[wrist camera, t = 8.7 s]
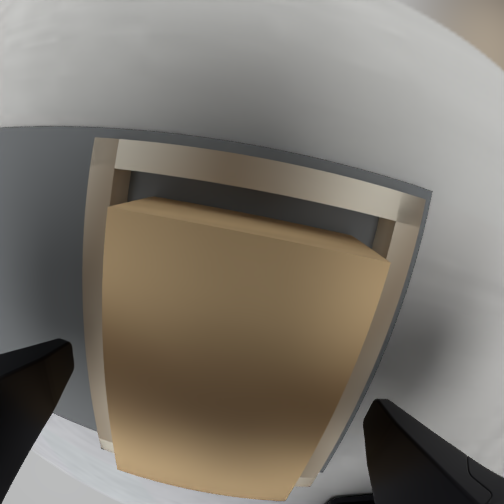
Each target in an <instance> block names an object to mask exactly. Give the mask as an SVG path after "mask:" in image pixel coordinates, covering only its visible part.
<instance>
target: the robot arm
mask: <svg viewBox="0 0 504 504" xmlns="http://www.w3.org/2000/svg"><path fill="white" fill-rule="evenodd" d="M73 371H74V356H73V347H72V344H71V343H70V342H69V341H67V340H64V339H61V338H57V339H54V340H50V341H47V342H43V343H40V344H36V345H32V346H29V347H25V348H21V349H18V350H14V351H10V352H6V353H2V354H0V504H2V501H3V499H4V498H5V495H6V494H7V492H8V490H9V488H10V485H11V484H12V482H13V480H14V478H15V476H16V475H17V473H18V471H19V469H20V467H21V465H22V464H23V462H24V460H25V458H26V456H27V455H28V453H29V451H30V450H31V448H32V446H33V444H34V443H35V441H36V439H37V438H38V436H39V434H40V433H41V431H42V429H43V428H44V426H45V424H46V423H47V421H48V419H49V418H50V416H51V414H52V413H53V411H54V409H55V408H56V406H57V404H58V402H59V400H60V398H61V395H62V393H63V391H64V389H65V387H66V385H67V383H68V381H69V379H70V377H71V375H72V373H73ZM363 429H364V438H365V447H366V458H367V466H368V471H369V476H370V481H371V486H372V491H373V495H367V496H356V497H341V498H335V499H332V500H330V501H329V502H328V503H327V504H504V478H503V477H501V476H499V475H498V474H496V473H494V472H492V471H490V470H489V469H487V468H485V467H484V466H482V465H481V464H479V463H478V462H476V461H475V460H473V459H472V458H470V457H469V456H467V455H466V454H464V453H463V452H461V451H460V450H458V449H457V448H456V447H454V446H453V445H451V444H450V443H448V442H447V441H445V440H444V439H443V438H441V437H440V436H438V435H437V434H436V433H434V432H433V431H431V430H430V429H428V428H427V427H426V426H424V425H423V424H421V423H420V422H419V421H417V420H416V419H415V418H413V417H412V416H410V415H409V414H408V413H406V412H405V411H404V410H402V409H401V408H399V407H398V406H397V405H395V404H394V403H393V402H391V401H390V400H388V399H375V400H374V401H373V403H372V405H371V407H370V408H369V410H368V412H367V414H366V416H365V418H364V422H363Z"/></svg>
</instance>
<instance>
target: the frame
mask: <svg viewBox="0 0 504 504" xmlns="http://www.w3.org/2000/svg"><path fill="white" fill-rule="evenodd" d="M131 170H132V171H140V172H148V173H155V174H162V175H169V176H176V177H183V178H189V179H196V180H202V181H208V182H214V183H220V184H226V185H232V186H237V187H243V188H248V189H254V190H259V191H264V192H270V193H275V194H280V195H285V196H290V197H294V198H299V199H304V200H309V201H313V202H318V203H323V204H327V205H331V206H336V207H340V208H345V209H349V210H353V211H357V212H361V213H366V214H370V215H374V216H378V217H379V221H378V225H377V230H376V234H375V238H374V242H373V246H372V250H374V251H375V252H376V253H378V254H379V255H381V256H382V257H384V258H385V259H386V260H388V261H389V262H391V264H390V267H389V271H388V274H387V277H386V281H385V284H384V287H383V290H382V293H381V296H380V299H379V302H378V305H377V308H376V311H375V314H374V317H373V320H372V322H371V325H370V328H369V331H368V333H367V336H366V339H365V341H364V344H363V347H362V349H361V352H360V354H359V357H358V359H357V362H356V364H355V366H354V369H353V371H352V374H351V376H350V378H349V381H348V383H347V385H346V387H345V390H344V392H343V394H342V396H341V399H340V401H339V403H338V405H337V407H336V409H335V411H334V413H333V416H332V418H331V420H330V422H329V424H328V426H327V428H326V430H325V432H324V434H323V436H322V438H321V439H320V441H319V443H318V445H317V447H316V449H315V451H314V453H313V454H312V456H311V458H310V460H309V462H308V463H307V465H306V467H305V469H304V471H303V472H302V474H301V476H300V477H299V479H298V481H297V482H296V484H295V486H294V487H310V486H311V484H312V483H313V481H314V480H315V478H316V477H317V475H318V473H319V472H320V470H321V468H322V467H323V465H324V463H325V462H326V460H327V458H328V457H329V455H330V453H331V451H332V450H333V448H334V446H335V444H336V443H337V441H338V439H339V437H340V435H341V433H342V431H343V430H344V428H345V426H346V424H347V422H348V420H349V418H350V416H351V414H352V412H353V410H354V408H355V406H356V404H357V402H358V400H359V398H360V396H361V394H362V391H363V389H364V387H365V385H366V383H367V380H368V378H369V376H370V374H371V371H372V369H373V367H374V364H375V362H376V360H377V357H378V355H379V352H380V350H381V347H382V345H383V342H384V340H385V337H386V335H387V332H388V329H389V327H390V324H391V321H392V318H393V316H394V313H395V310H396V307H397V304H398V301H399V298H400V295H401V292H402V289H403V286H404V282H405V279H406V276H407V273H408V269H409V266H410V262H411V259H412V255H413V252H414V248H415V244H416V240H417V236H418V232H419V228H420V224H421V220H422V215H423V211H424V206H425V201H426V199H423V198H420V197H416V196H413V195H410V194H407V193H403V192H400V191H397V190H393V189H390V188H386V187H383V186H379V185H376V184H372V183H368V182H365V181H361V180H357V179H353V178H349V177H346V176H342V175H338V174H333V173H329V172H325V171H321V170H316V169H312V168H308V167H303V166H298V165H294V164H289V163H284V162H279V161H274V160H269V159H264V158H259V157H253V156H248V155H242V154H236V153H230V152H224V151H217V150H211V149H204V148H197V147H190V146H182V145H174V144H166V143H157V142H147V141H137V140H126V139H113V138H99V137H95V139H94V145H93V151H92V157H91V164H90V171H89V179H88V187H87V197H86V207H85V220H84V236H83V266H82V290H83V320H84V336H85V348H86V359H87V368H88V376H89V384H90V391H91V398H92V404H93V410H94V416H95V421H96V426H97V431H98V436H99V441H100V445H101V449H104V450H107V451H109V452H112V453H114V448H113V442H112V435H111V429H110V421H109V414H108V405H107V396H106V386H105V374H104V359H103V337H102V278H103V256H104V241H105V228H106V218H107V208H108V207H109V206H114V205H118V204H122V203H126V202H127V198H128V190H129V183H130V176H131Z"/></svg>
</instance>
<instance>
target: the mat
mask: <svg viewBox="0 0 504 504" xmlns="http://www.w3.org/2000/svg"><path fill="white" fill-rule="evenodd" d="M95 137H99V138H113V139H126V140H137V141H147V142H157V143H166V144H174V145H182V146H190V147H197V148H204V149H211V150H217V151H224V152H230V153H236V154H242V155H248V156H253V157H259V158H264V159H269V160H274V161H279V162H284V163H289V164H294V165H298V166H303V167H308V168H312V169H316V170H321V171H325V172H329V173H333V174H338V175H342V176H346V177H349V178H353V179H357V180H361V181H365V182H368V183H372V184H376V185H379V186H383V187H386V188H390V189H393V190H397V191H400V192H403V193H407V194H410V195H413V196H416V197H420V198H423V199H426V201H425V206H424V211H423V215H422V220H421V224H420V228H419V232H418V236H417V240H416V244H415V248H414V252H413V255H412V259H411V262H410V266H409V269H408V273H407V276H406V279H405V282H404V286H403V289H402V292H401V295H400V298H399V301H398V304H397V307H396V310H395V313H394V316H393V318H392V321H391V324H390V327H389V329H388V332H387V335H386V337H385V340H384V342H383V345H382V347H381V350H380V352H379V355H378V357H377V360H376V362H375V364H374V367H373V369H372V371H371V374H370V376H369V378H368V380H367V383H366V385H365V387H364V389H363V391H362V394H361V396H360V398H359V400H358V402H357V404H356V406H355V408H354V410H353V412H352V414H351V416H350V418H349V420H348V422H347V424H346V426H345V428H344V430H343V431H342V433H341V435H340V437H339V439H338V441H337V443H336V444H335V446H334V448H333V450H332V451H331V453H330V455H329V457H328V458H327V460H326V462H325V463H324V465H323V467H322V468H321V470H320V472H323V471H324V470H325V468H326V466H327V465H328V463H329V461H330V460H331V458H332V456H333V455H334V453H335V451H336V449H337V448H338V446H339V444H340V442H341V441H342V439H343V437H344V435H345V433H346V432H347V430H348V428H349V426H350V424H351V422H352V420H353V418H354V416H355V414H356V412H357V411H358V409H359V407H360V404H361V402H362V400H363V398H364V396H365V394H366V392H367V390H368V388H369V386H370V383H371V381H372V379H373V377H374V375H375V372H376V370H377V368H378V365H379V363H380V361H381V358H382V356H383V354H384V351H385V349H386V346H387V344H388V341H389V339H390V336H391V334H392V331H393V328H394V326H395V323H396V320H397V317H398V315H399V312H400V309H401V306H402V303H403V300H404V297H405V294H406V291H407V288H408V285H409V282H410V278H411V275H412V272H413V268H414V265H415V262H416V258H417V254H418V251H419V247H420V243H421V239H422V235H423V231H424V227H425V223H426V219H427V214H428V210H429V205H430V200H431V195H432V191H430V190H427V189H425V188H421V187H418V186H415V185H412V184H409V183H406V182H403V181H400V180H396V179H393V178H390V177H386V176H383V175H380V174H376V173H373V172H369V171H365V170H362V169H358V168H354V167H351V166H347V165H343V164H339V163H335V162H331V161H327V160H323V159H318V158H314V157H310V156H305V155H301V154H296V153H291V152H287V151H282V150H277V149H272V148H267V147H261V146H256V145H250V144H244V143H239V142H232V141H226V140H220V139H213V138H206V137H199V136H191V135H183V134H174V133H165V132H155V131H145V130H132V129H118V128H100V127H70V126H35V127H6V128H0V354H2V353H6V352H10V351H14V350H18V349H21V348H25V347H29V346H32V345H36V344H40V343H43V342H47V341H50V340H54V339H57V338H61V339H64V340H67V341H69V342H70V343H71V344H72V347H73V356H74V371H73V373H72V375H71V377H70V379H69V381H68V383H67V385H66V387H65V389H64V391H63V393H62V395H61V398H60V400H59V402H58V404H57V406H56V408H55V409H54V411H53V413H54V414H56V415H58V416H60V417H63V418H65V419H67V420H70V421H72V422H74V423H77V424H79V425H82V426H84V427H87V428H89V429H92V430H94V431H97V426H96V421H95V416H94V410H93V404H92V398H91V391H90V384H89V376H88V368H87V359H86V348H85V336H84V320H83V290H82V266H83V236H84V220H85V207H86V197H87V187H88V179H89V171H90V164H91V157H92V151H93V145H94V139H95ZM153 196H154V197H160V198H166V199H172V200H177V201H183V202H189V203H194V204H200V205H205V206H211V207H216V208H221V209H227V210H232V211H237V212H242V213H248V214H253V215H258V216H263V217H268V218H273V219H277V220H282V221H287V222H292V223H297V224H301V225H306V226H311V227H315V228H320V229H325V230H329V231H334V232H338V233H343V234H347V235H352V236H353V237H355V238H356V239H358V240H359V241H360V242H362V243H363V244H365V245H366V246H368V247H369V248H371V249H372V246H373V242H374V238H375V234H376V230H377V225H378V221H379V217H378V216H374V215H370V214H366V213H361V212H357V211H353V210H349V209H345V208H340V207H336V206H331V205H327V204H323V203H318V202H313V201H309V200H304V199H299V198H294V197H290V196H285V195H280V194H275V193H270V192H264V191H259V190H254V189H248V188H243V187H237V186H232V185H226V184H220V183H214V182H208V181H202V180H196V179H189V178H183V177H176V176H169V175H162V174H155V173H148V172H140V171H132V170H131V176H130V183H129V190H128V198H127V202H131V201H135V200H139V199H144V198H148V197H153ZM97 432H98V431H97Z"/></svg>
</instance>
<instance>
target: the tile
mask: <svg viewBox="0 0 504 504" xmlns="http://www.w3.org/2000/svg"><path fill="white" fill-rule="evenodd" d="M390 264H391V262H389V261H388V260H386V259H385V258H384V257H382V256H381V255H379V254H378V253H376V252H375V251H374V250H372V249H371V248H369V247H368V246H366V245H365V244H363V243H362V242H360V241H359V240H358V239H356V238H355V237H353V236H352V235H347V234H343V233H338V232H334V231H329V230H325V229H320V228H315V227H311V226H306V225H301V224H297V223H292V222H287V221H282V220H277V219H273V218H268V217H263V216H258V215H253V214H248V213H242V212H237V211H232V210H227V209H221V208H216V207H211V206H205V205H200V204H194V203H189V202H183V201H177V200H172V199H166V198H160V197H154V196H153V197H148V198H144V199H139V200H135V201H131V202H126V203H122V204H118V205H114V206H109V207H108V208H107V218H106V228H105V241H104V256H103V278H102V337H103V359H104V374H105V386H106V396H107V405H108V414H109V421H110V429H111V435H112V442H113V448H114V453H115V459H116V464H117V469H118V470H121V471H124V472H127V473H130V474H133V475H136V476H140V477H143V478H146V479H150V480H153V481H157V482H161V483H165V484H169V485H173V486H177V487H182V488H186V489H191V490H196V491H201V492H207V493H212V494H219V495H225V496H232V497H240V498H249V499H260V500H273V501H285V500H286V499H287V497H288V496H289V494H290V492H291V491H292V489H293V487H294V486H295V484H296V482H297V481H298V479H299V477H300V476H301V474H302V472H303V471H304V469H305V467H306V465H307V463H308V462H309V460H310V458H311V456H312V454H313V453H314V451H315V449H316V447H317V445H318V443H319V441H320V439H321V438H322V436H323V434H324V432H325V430H326V428H327V426H328V424H329V422H330V420H331V418H332V416H333V413H334V411H335V409H336V407H337V405H338V403H339V401H340V399H341V396H342V394H343V392H344V390H345V387H346V385H347V383H348V381H349V378H350V376H351V374H352V371H353V369H354V366H355V364H356V362H357V359H358V357H359V354H360V352H361V349H362V347H363V344H364V341H365V339H366V336H367V333H368V331H369V328H370V325H371V322H372V320H373V317H374V314H375V311H376V308H377V305H378V302H379V299H380V296H381V293H382V290H383V287H384V284H385V281H386V277H387V274H388V271H389V267H390Z"/></svg>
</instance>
